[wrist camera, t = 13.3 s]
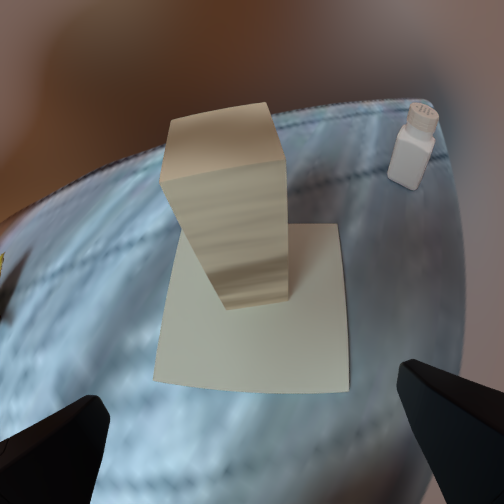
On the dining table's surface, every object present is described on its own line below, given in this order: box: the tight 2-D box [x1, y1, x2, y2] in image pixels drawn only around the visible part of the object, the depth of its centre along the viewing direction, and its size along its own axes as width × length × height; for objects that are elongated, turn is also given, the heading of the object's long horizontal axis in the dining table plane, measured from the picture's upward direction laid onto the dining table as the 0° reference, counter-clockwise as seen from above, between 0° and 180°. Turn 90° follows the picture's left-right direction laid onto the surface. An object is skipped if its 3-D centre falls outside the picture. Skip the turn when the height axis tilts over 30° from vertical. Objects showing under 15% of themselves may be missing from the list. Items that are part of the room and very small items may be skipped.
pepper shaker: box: [387, 103, 439, 191], centre depth 25 cm, size 4×4×10 cm
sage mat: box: [153, 224, 349, 394], centre depth 23 cm, size 15×15×1 cm
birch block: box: [159, 102, 288, 310], centre depth 18 cm, size 5×5×14 cm
